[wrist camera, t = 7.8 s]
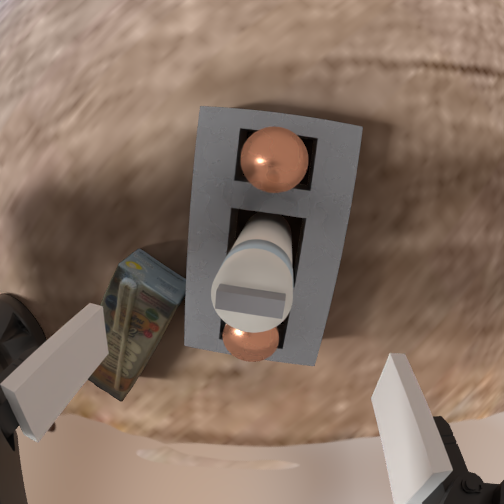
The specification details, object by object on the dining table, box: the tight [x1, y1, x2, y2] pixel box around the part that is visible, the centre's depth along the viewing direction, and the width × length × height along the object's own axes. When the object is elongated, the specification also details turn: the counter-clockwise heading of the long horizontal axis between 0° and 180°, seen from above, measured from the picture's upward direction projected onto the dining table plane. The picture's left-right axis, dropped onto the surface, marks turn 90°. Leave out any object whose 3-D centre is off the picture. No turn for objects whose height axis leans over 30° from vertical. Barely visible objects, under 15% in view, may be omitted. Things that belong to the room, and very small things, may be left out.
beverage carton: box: [88, 249, 186, 401], centre depth 36 cm, size 8×19×7 cm, turn 147°
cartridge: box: [211, 212, 293, 333], centre depth 26 cm, size 5×5×16 cm
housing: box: [184, 106, 363, 366], centre depth 31 cm, size 14×24×5 cm, turn 173°
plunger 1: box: [241, 127, 308, 193], centre depth 27 cm, size 5×5×7 cm
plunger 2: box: [223, 323, 279, 362], centre depth 32 cm, size 5×5×7 cm
